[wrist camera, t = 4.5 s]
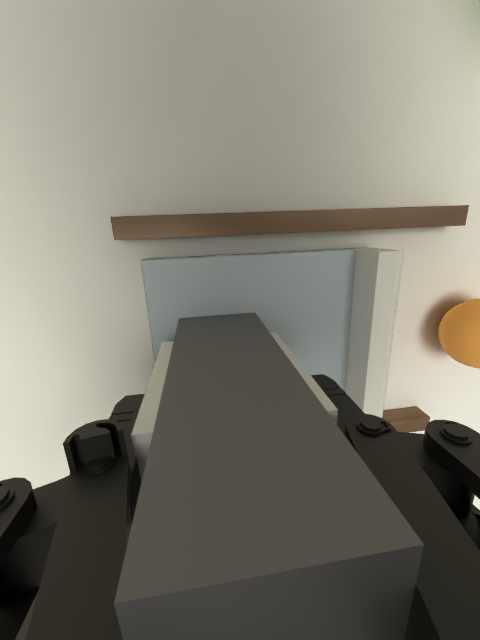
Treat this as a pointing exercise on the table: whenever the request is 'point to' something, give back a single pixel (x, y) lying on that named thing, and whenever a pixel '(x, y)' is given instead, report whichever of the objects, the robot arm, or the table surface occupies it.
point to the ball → (462, 333)
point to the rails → (291, 223)
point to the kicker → (267, 455)
